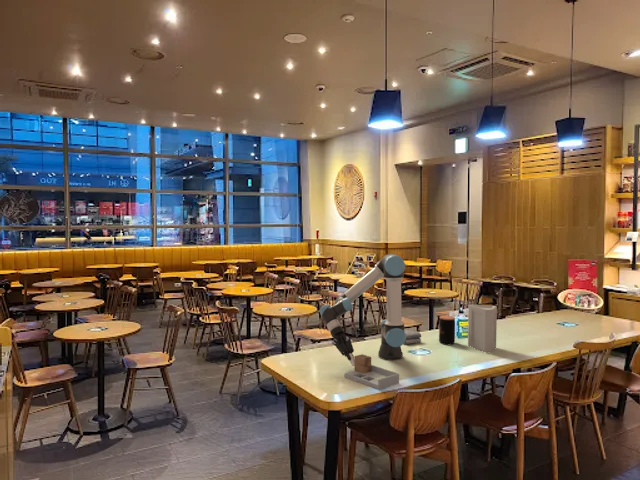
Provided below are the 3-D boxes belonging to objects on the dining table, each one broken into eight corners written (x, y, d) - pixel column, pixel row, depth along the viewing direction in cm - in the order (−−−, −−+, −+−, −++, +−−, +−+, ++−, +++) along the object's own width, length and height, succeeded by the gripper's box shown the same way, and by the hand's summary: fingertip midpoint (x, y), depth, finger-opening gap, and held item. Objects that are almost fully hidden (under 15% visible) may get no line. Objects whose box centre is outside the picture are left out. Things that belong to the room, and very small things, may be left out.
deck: (363, 371, 261) (363, 362, 261) (398, 383, 241) (399, 373, 241) (344, 376, 252) (344, 367, 252) (379, 389, 232) (379, 379, 232)
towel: (406, 345, 317) (406, 334, 317) (388, 340, 332) (388, 329, 332) (422, 342, 325) (422, 331, 325) (404, 337, 341) (404, 326, 340)
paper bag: (504, 351, 303) (505, 308, 302) (485, 353, 298) (486, 309, 297) (485, 344, 321) (486, 303, 320) (467, 345, 316) (468, 304, 315)
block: (362, 368, 259) (362, 354, 259) (371, 371, 254) (371, 357, 254) (354, 370, 256) (354, 356, 255) (363, 373, 250) (363, 359, 250)
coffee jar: (438, 340, 330) (438, 315, 329) (453, 341, 328) (453, 315, 328) (439, 344, 319) (440, 318, 319) (455, 345, 318) (456, 319, 317)
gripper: (340, 331, 276) (359, 365, 264) (323, 334, 268) (342, 370, 256) (347, 324, 272) (366, 359, 260) (329, 327, 264) (349, 363, 252)
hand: (354, 364), depth 258 cm, fingers closed
